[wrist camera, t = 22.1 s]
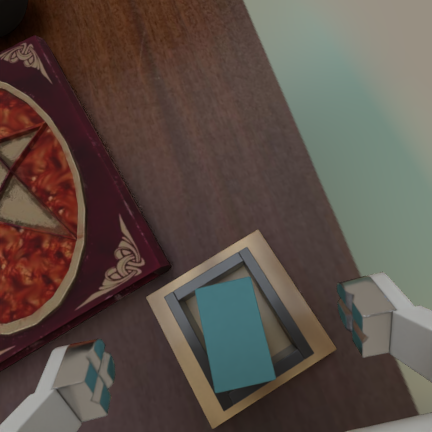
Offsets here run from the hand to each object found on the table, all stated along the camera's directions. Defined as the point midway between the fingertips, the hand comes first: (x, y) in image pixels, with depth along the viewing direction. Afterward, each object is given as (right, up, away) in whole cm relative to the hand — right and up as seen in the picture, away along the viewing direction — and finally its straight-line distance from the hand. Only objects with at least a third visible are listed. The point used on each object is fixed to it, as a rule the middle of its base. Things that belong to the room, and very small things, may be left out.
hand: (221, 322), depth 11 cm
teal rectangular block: (+1, -5, +15) cm, 16 cm away
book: (-20, +5, +21) cm, 30 cm away
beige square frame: (+2, -5, +16) cm, 17 cm away
